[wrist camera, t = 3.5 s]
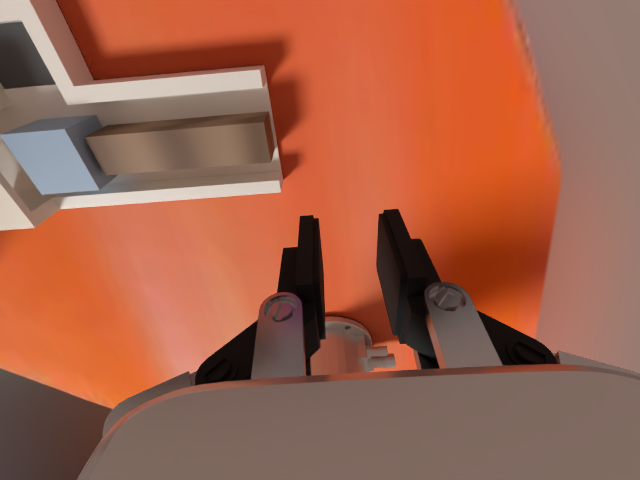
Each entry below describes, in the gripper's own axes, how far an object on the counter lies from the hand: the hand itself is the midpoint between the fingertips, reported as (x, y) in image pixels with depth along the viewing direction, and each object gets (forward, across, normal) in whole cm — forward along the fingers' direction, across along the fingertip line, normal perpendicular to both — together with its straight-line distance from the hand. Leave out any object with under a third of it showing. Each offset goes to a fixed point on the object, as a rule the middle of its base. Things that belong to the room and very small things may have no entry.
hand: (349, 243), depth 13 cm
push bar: (+17, +12, 0) cm, 21 cm away
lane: (+17, +22, -3) cm, 28 cm away
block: (+17, +22, 0) cm, 28 cm away
